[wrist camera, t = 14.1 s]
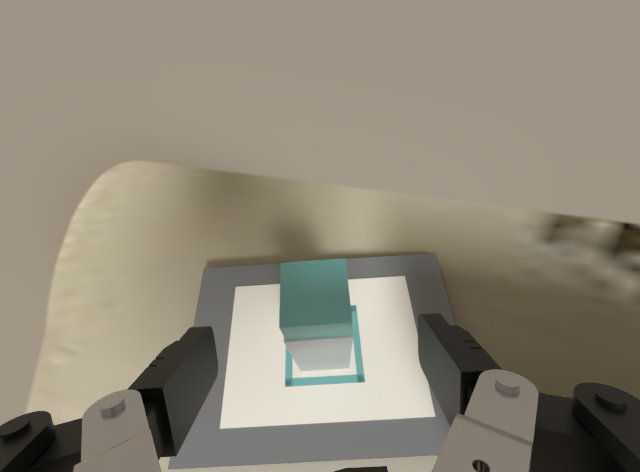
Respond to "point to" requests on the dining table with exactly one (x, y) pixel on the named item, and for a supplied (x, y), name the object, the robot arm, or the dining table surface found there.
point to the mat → (318, 371)
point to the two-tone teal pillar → (316, 313)
